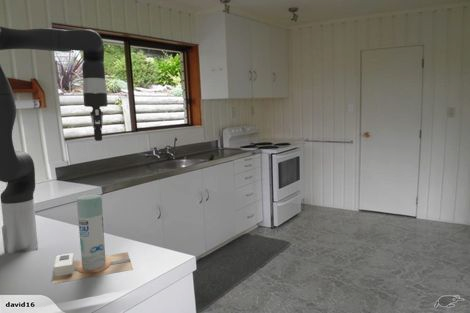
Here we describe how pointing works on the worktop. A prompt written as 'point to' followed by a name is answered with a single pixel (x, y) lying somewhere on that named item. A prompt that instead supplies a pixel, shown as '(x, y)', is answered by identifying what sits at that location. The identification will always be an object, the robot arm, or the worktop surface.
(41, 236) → the worktop surface
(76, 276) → the plywood panel
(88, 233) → the spray paint can
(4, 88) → the robot arm
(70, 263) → the block
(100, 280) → the worktop surface
